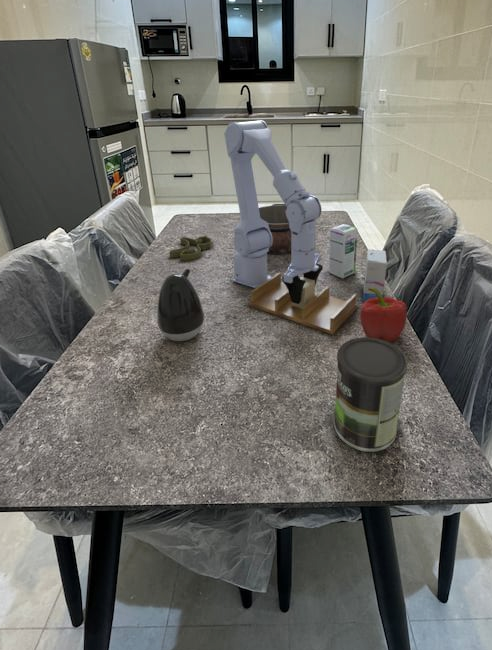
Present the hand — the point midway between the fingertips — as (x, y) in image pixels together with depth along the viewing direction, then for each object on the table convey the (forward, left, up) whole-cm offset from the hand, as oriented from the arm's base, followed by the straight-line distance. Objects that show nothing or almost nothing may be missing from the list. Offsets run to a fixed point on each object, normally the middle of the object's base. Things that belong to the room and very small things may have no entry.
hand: (302, 296), depth 97 cm
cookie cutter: (-52, +12, -3) cm, 53 cm away
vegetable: (+21, -1, -3) cm, 21 cm away
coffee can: (+28, -27, -3) cm, 39 cm away
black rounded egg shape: (-17, -25, -3) cm, 30 cm away
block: (0, 0, -2) cm, 2 cm away
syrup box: (0, +23, -3) cm, 23 cm away
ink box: (+13, +15, -3) cm, 20 cm away
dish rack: (0, 0, -3) cm, 3 cm away
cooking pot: (-30, +34, -3) cm, 45 cm away
